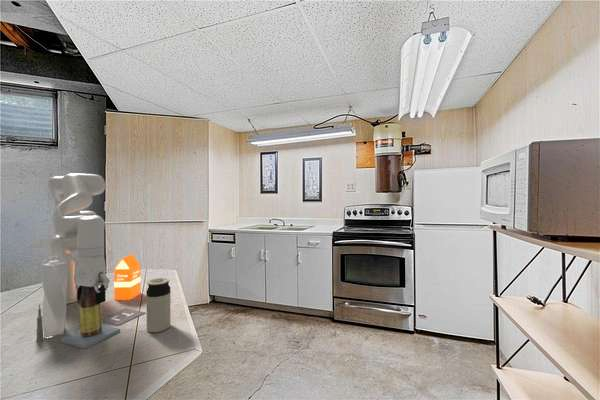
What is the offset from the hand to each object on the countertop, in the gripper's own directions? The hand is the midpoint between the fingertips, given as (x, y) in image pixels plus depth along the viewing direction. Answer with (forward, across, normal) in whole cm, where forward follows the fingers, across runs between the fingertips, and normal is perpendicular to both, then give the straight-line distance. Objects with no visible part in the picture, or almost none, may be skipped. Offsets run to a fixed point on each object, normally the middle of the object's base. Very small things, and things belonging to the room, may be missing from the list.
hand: (91, 301), depth 95 cm
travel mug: (+13, +17, +13) cm, 25 cm away
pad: (+13, 0, 0) cm, 13 cm away
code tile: (+13, -5, +15) cm, 20 cm away
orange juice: (+13, -24, +32) cm, 42 cm away
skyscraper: (+13, -15, -3) cm, 20 cm away
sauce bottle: (+12, 0, 0) cm, 12 cm away
